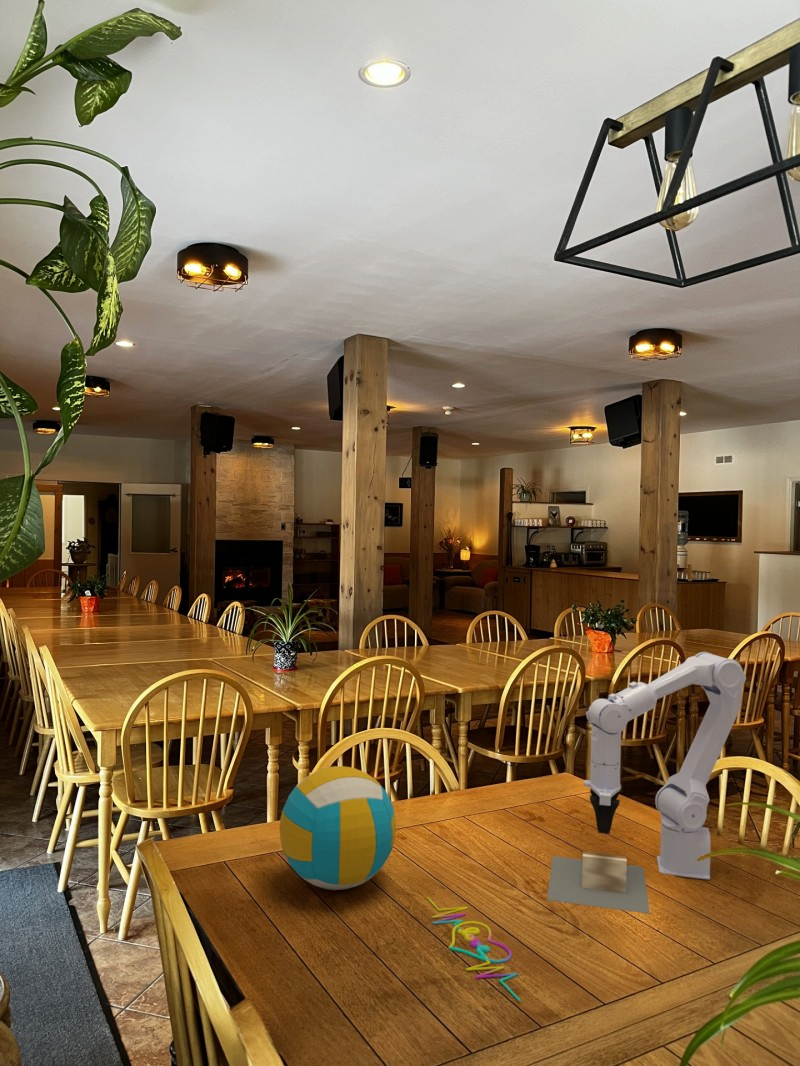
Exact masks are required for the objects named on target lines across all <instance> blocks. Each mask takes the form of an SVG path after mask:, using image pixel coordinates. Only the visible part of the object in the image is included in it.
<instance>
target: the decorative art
mask: <svg viewBox="0 0 800 1066" xmlns="http://www.w3.org/2000/svg"><path fill="white" fill-rule="evenodd" d="M426 900H427V901H428V902H429V903H430V904H432V906H434V908H435V909H436V910H437V911H438V912H443V913H439V914H435V915H432V916H431V919H440V920H436V921H432V922H431V925H441V924H443V925H444V924H453V926H454V927H453V929H452V931H451V943H450V945H449V946H448V950H450V951H453V952H458V953H462V954H465V955H467V956H470V957H473V958H475V959H478V960H480V961H483V962H484V963H481V964H477V965H474V966H471V967H467V968H465V972H472V971H486V972H483V973H480V974H478V975H475V976H474V979H475V980H476V979H477V980H478V979H490V978H500V977H501V979H498V982H499V983H500V984H501V985H503V987H504V988H505V989H506V990H507V991H508V992H509V993H510V995H512V996H513V998H515V999H516V1000H517V1001H518V1002H519V1003H521V1001H522V1000H521V999H520V998H519V997H518V995H516V993H514V991H513V990H512V989H511V988H510V987H509V986H508V985H507V984H506V983H505V982H504V981H507V980H509V979H513V978H515V977H517V976H518V975H519V973H518V972H512V973H498V974H493V973H495V972H499V971H502V970H504V969H505V966H503V965H502V966H489V965H491V963H492V964H504V963H507V962H509V961H510V960H511V959H512V957H513V953H512V950H510V948H508V947H507V946H506V945H504V943H501V942H499V941H496V940H494V939H492V936H493V935H492V930H491V928H490V927H489V926H488V925H487V924H485V923H484V922H483V923H482V922H480V921H474V920H472V921H470V920H468V921H467V920H466V921H464V920H463V919H459V918H463V917H465V916H466V915H467V914H466V913H458V912H461V911H464V910H468V909H469V908H470V907H469V906H460V907H458V906H457V907H449V908H440V907H438V905H436V903H434V901H432V899H431V898H430V897H428V896H427V897H426ZM445 911H446V912H445ZM454 913H456V914H454ZM467 925H475V926H476V925H478V926H480V927H482V928H483V927H484V928H485V929H486V930H487V932H488V937H487V939H486V940H487V942H488V943H490V944H494V945H496V946H498V947H500V948H502V949H504V950H505V951H506V952H507V954H508V956H507V957H505V958H502V959H492V958H489V957H488V956H487V954H486V953H488V954H489V953H490V951H491V949H490V947H489V946H488V945H485V944H482V942H481V941H480V940H479V938H478V937H476V936H478V935H479V934H481V931H480V928H478V927H475V926H470V927H467V928H465V929H462V928H461V927H462V926H467ZM456 934H458V935H461V936H462V938H464V941H465V942H467V943H469V946H470V947H471V948H473V949H476V951H475V952H476V953H474V952H472V951H469V950H466V949H463V948H459V947H455V943H456ZM485 966H486V967H485ZM487 966H488V967H487ZM487 970H488V971H487ZM502 977H503V978H502Z"/></svg>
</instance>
